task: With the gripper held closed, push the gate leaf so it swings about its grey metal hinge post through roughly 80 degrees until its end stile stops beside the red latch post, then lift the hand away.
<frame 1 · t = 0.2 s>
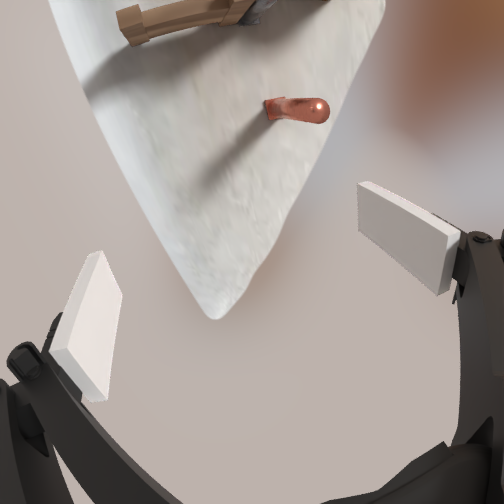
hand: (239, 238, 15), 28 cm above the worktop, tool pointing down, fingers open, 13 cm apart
gate posts: (247, 16, 31), on the worktop
gate: (184, 16, 25), point 6 cm above the worktop, hinge at 0.0°
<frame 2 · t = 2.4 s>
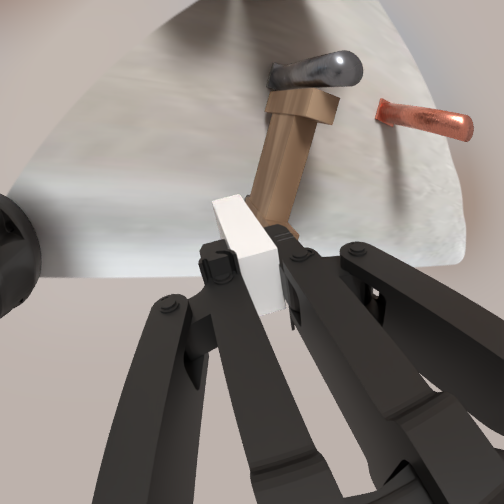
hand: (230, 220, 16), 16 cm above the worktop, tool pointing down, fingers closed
gate posts: (282, 78, 28), on the worktop
gate: (279, 163, 26), point 6 cm above the worktop, hinge at 0.0°
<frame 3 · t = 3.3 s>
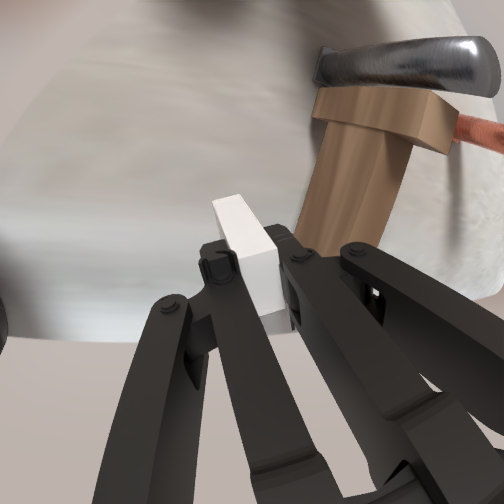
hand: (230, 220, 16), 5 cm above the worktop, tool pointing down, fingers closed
gate posts: (333, 70, 18), on the worktop
gate: (342, 202, 17), point 6 cm above the worktop, hinge at 0.0°
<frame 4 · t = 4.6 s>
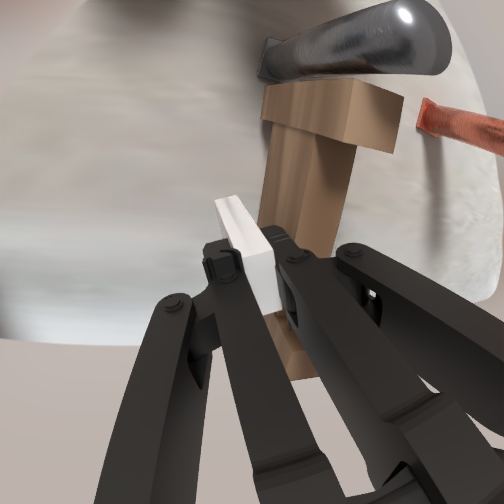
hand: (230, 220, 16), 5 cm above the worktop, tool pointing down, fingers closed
gate posts: (282, 62, 17), on the worktop
gate: (293, 212, 16), point 6 cm above the worktop, hinge at 6.6°, touching gripper
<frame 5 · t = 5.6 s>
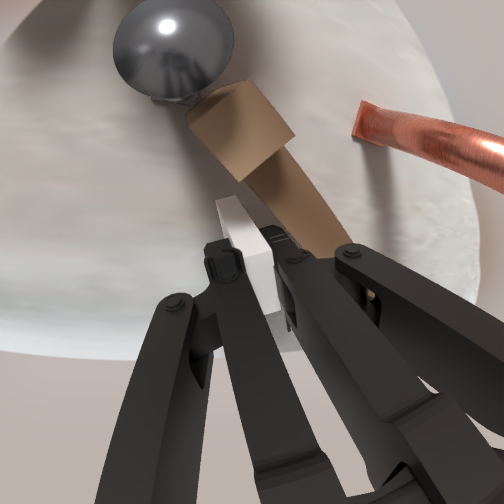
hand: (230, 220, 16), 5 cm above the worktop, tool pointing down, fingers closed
gate posts: (178, 81, 16), on the worktop
gate: (291, 202, 15), point 6 cm above the worktop, hinge at 54.1°, touching gripper
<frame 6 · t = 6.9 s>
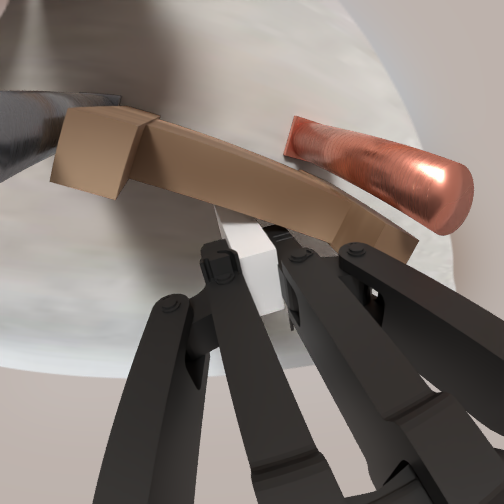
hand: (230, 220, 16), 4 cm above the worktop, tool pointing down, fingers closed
gate posts: (96, 115, 16), on the worktop
gate: (236, 172, 14), point 6 cm above the worktop, hinge at 81.5°, touching gripper
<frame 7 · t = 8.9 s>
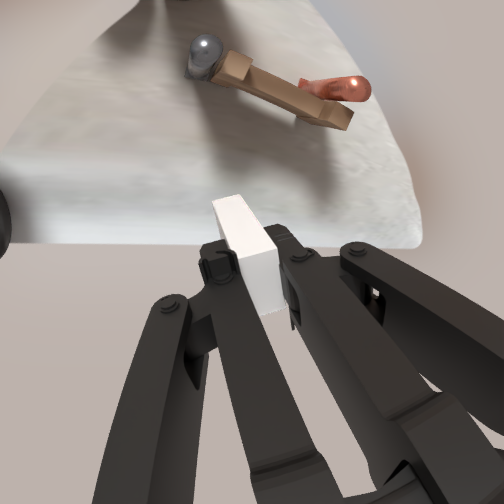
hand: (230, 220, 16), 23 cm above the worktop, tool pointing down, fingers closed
gate posts: (198, 68, 31), on the worktop
gate: (275, 92, 29), point 6 cm above the worktop, hinge at 81.6°
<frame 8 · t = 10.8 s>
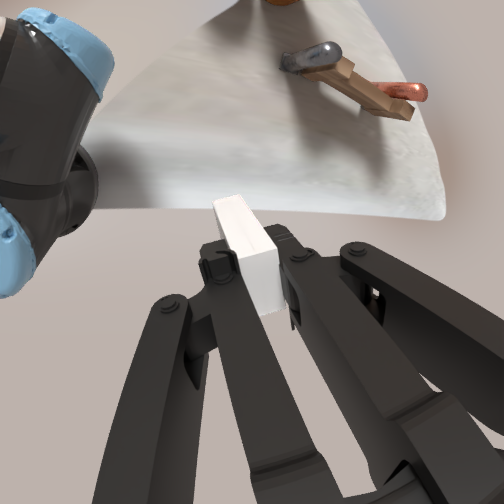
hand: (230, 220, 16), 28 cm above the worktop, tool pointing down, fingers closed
gate posts: (290, 63, 38), on the worktop
gate: (356, 88, 36), point 6 cm above the worktop, hinge at 81.6°
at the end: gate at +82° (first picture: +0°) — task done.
